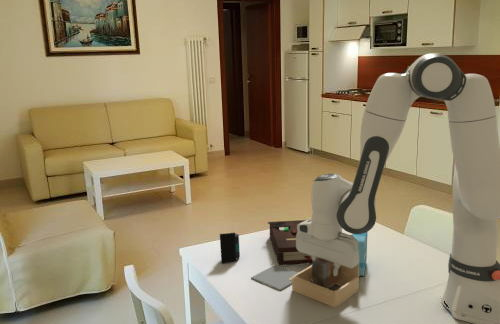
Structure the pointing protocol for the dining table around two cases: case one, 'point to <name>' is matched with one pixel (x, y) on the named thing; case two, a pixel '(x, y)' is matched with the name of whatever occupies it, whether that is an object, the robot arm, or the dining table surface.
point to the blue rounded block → (362, 251)
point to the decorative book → (287, 243)
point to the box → (324, 273)
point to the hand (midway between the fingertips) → (326, 272)
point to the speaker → (229, 247)
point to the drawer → (329, 297)
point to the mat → (275, 277)
